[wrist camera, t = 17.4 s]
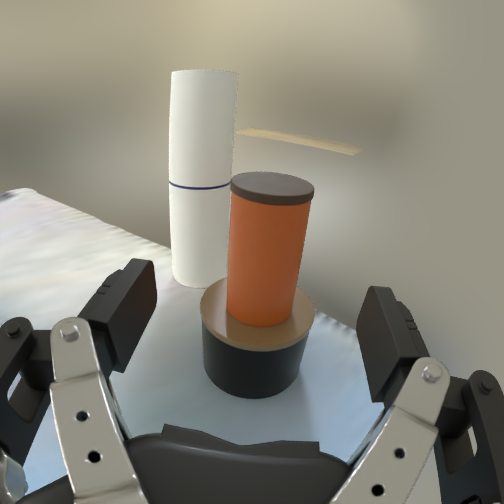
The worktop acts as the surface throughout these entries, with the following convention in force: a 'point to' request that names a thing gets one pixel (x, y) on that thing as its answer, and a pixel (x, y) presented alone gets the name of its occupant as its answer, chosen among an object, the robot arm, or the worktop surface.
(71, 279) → the worktop surface
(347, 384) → the worktop surface
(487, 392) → the robot arm
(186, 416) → the worktop surface
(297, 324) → the black canister
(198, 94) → the cylindrical container
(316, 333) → the worktop surface
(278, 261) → the orange tin
